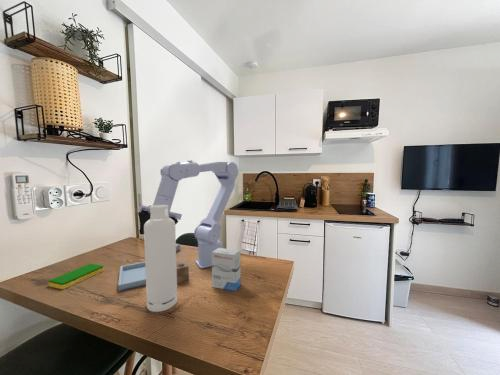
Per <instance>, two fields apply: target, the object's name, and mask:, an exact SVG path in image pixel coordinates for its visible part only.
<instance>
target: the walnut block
mask: <svg viewBox="0 0 500 375" xmlns="http://www.w3.org/2000/svg"><path fill="white" fill-rule="evenodd" d="M176 269H177V284H179V283H183V282H188V281H189V280H190V276H189V275H190V274H189V273H190V272H189V269H190V268H189V265H188V262H185V261H184V262H181V263H176Z"/></svg>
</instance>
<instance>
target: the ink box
mask: <svg viewBox="0 0 500 375" xmlns="http://www.w3.org/2000/svg"><path fill="white" fill-rule="evenodd" d="M211 253H212V266H211V286H212V288H214V289H215V288H216V289H220V290H225V291H226V290H227V291H232V292H237V290H238V289H239V288H240V286H241V285H242V281H241V278H242V277H241V272H242V271H241V265H242V263H241V250H239V249H231V248H224V247H222V248H217V249H216V250H214V251H213V252H211Z"/></svg>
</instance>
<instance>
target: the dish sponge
mask: <svg viewBox="0 0 500 375" xmlns="http://www.w3.org/2000/svg"><path fill="white" fill-rule="evenodd" d="M104 271H105V270H104V265H102V264H96V263H89V264H86V265H84V266H81V267H79V268H76V269H74V270H72V271H68V272H66V273H63V274H62V275H59V276H56V277H53V278H51V279H49V280H48V286H49V287H50V288H56V289H60V290H65V289H67V288H69V287H71V286H74V285H76V284H78V283H80V282H82V281H84V280H86V279H89V278H92V277H93V276H95V275H97V274H101V273H103V272H104Z"/></svg>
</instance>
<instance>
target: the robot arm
mask: <svg viewBox="0 0 500 375" xmlns="http://www.w3.org/2000/svg"><path fill="white" fill-rule="evenodd" d="M205 172H212V174H213V173H214V176H215V177H216V179H217V181H218V182H219V183H220V188H219V190H218V193H217V194H216V197H215V198H214V200H213V203H212V205H211V207H210V209H209V212H208V213H207V215H206V217H205V218H203V219H202V220H200V222H199V224H198V225H197V226H196V227H195V229H194V231H193V234H194V237H195V239H196V240H197V246H198V247H197V248H198V249H197V253H198V259H196V260H195V263H196V264H197V266H198V267H199V269H205V268H210V267H211V268H212V253H211V252H213V251H214V250H216V249H217V248H223V244H222V242H221V240H219V239H220V235H221V229H222V226H221V224H220V221H221V219H222V215H223V213H224V212H225V209H226V207H227V204H228V202H229V199H230V198H231V196H232V194H233V190H234V189H235V185H236V179H237V177H238V175H239V169H238V165H237V164H236V163H235V162H233V161H232V162H231V161H230V162H228V161H212V162H206V163H199V164H198V163H197V162H196V161H193V160H192V159H191V160H187V162H180V161H177V162H175V163H168V164H165V165H164V166H163V167H162V168H160V175H161V176H160V178H161V179H160V181H159V185H158V187H157V188H158V189H157V191H156V194H155V198H154V201H153V204H152V206H154V205H168V215H169V218H171V219H172V220H174V222H175V226H176V225H177V224H178V223H179V220H180V221H181V220H182V216H183V214H182V213H178V212H173V211H171V209H172V205H173V202H174V199H175V195H176V192H177V189H178V185H179V182H180V181H181V180H183V179H189V178H195V177H198V176H199V174H200V173H205ZM137 215H138V219H139V235H144V224H145V223H146V222H147V221H148V220H150V215H151V212H150V206H146V205H143V204H140V205H139V207H138V213H137Z"/></svg>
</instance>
